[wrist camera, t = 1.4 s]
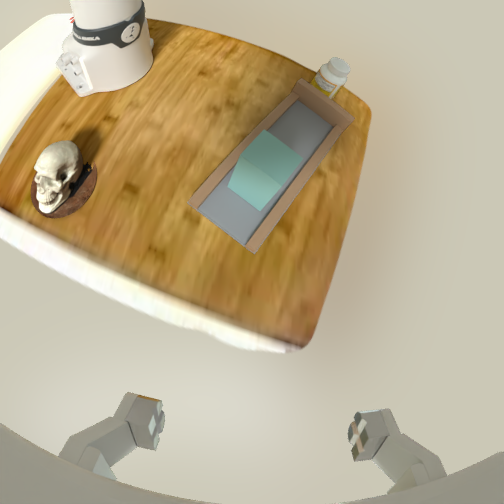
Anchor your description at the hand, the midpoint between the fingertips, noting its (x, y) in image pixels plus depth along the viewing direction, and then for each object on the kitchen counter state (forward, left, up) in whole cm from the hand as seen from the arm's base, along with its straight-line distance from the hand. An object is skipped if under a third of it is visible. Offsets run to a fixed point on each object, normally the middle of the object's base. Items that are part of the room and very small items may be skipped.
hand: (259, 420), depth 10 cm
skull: (-32, +4, -29) cm, 43 cm away
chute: (-7, +28, -28) cm, 41 cm away
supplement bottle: (-9, +47, -29) cm, 56 cm away
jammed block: (-7, +21, -28) cm, 36 cm away
